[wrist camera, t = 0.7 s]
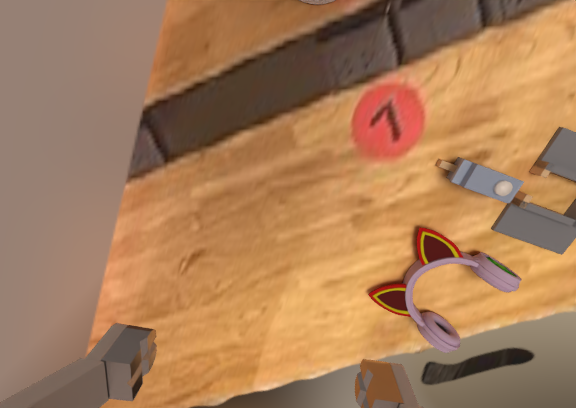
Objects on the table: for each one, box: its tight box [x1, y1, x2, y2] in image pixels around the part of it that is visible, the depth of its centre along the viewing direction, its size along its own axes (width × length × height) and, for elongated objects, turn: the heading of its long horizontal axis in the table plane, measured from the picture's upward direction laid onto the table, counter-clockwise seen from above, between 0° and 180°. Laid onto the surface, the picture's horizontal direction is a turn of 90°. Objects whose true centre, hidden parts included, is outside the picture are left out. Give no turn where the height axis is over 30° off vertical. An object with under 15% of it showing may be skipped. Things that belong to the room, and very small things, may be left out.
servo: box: [436, 157, 524, 203], centre depth 48 cm, size 4×12×7 cm, turn 71°
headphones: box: [368, 228, 521, 353], centre depth 55 cm, size 20×10×20 cm
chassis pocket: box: [491, 127, 576, 254], centre depth 51 cm, size 20×15×2 cm
